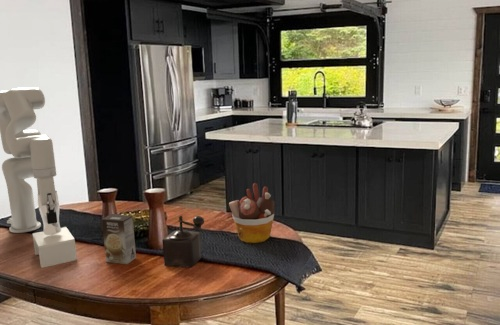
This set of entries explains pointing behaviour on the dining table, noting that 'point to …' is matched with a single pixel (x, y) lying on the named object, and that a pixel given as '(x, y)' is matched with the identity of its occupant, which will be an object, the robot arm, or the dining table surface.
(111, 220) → the coffee box
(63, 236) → the white block
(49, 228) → the beer glass
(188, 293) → the dining table surface
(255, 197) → the bucket of meat
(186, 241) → the manual coffee grinder
